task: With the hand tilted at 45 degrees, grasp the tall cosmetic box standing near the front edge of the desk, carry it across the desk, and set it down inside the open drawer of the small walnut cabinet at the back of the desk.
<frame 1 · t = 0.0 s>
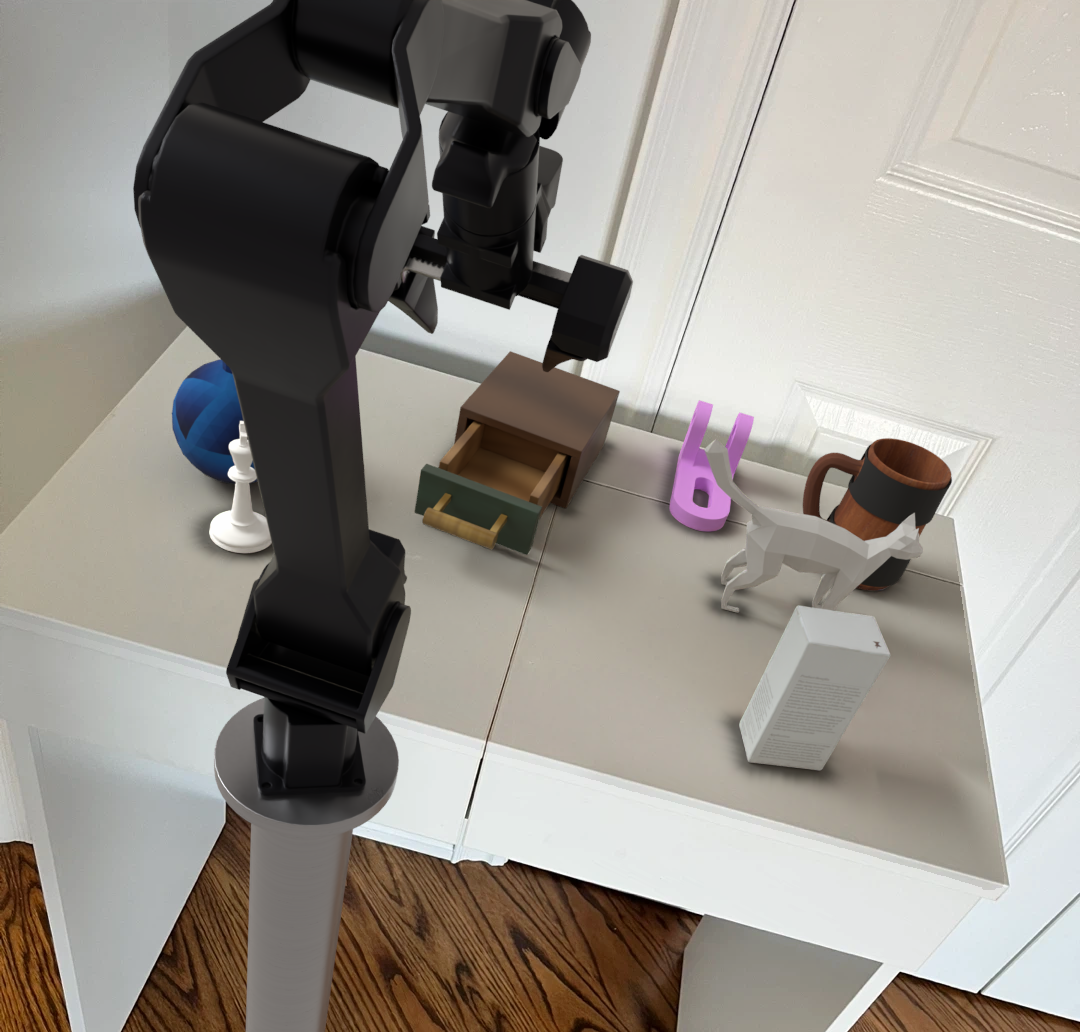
hand: (490, 347, 77), 16 cm above the table, tool tilted 35°, fingers open, 9 cm apart
cosmetic box: (776, 749, 77), on the table
bracket: (699, 496, 100), on the table
chess piece: (241, 536, 81), on the table
drawer: (491, 490, 87), point 3 cm above the table, slide at 9.0 cm
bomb: (237, 472, 87), on the table
cat figurine: (764, 608, 89), on the table
cabinet: (530, 455, 99), on the table
mug: (836, 561, 97), on the table
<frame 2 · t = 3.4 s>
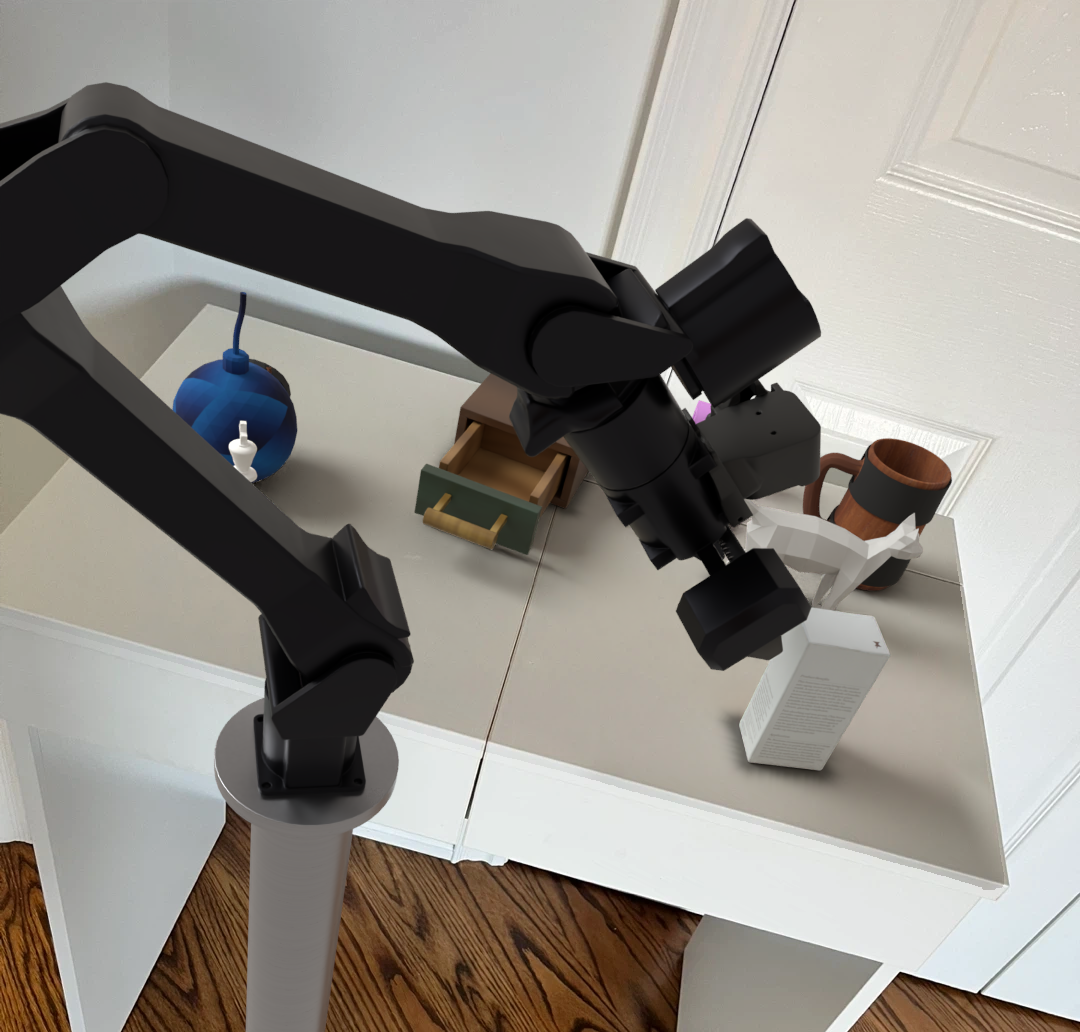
hand: (745, 605, 65), 14 cm above the table, tool tilted 45°, fingers open, 9 cm apart
nothing on the table moved.
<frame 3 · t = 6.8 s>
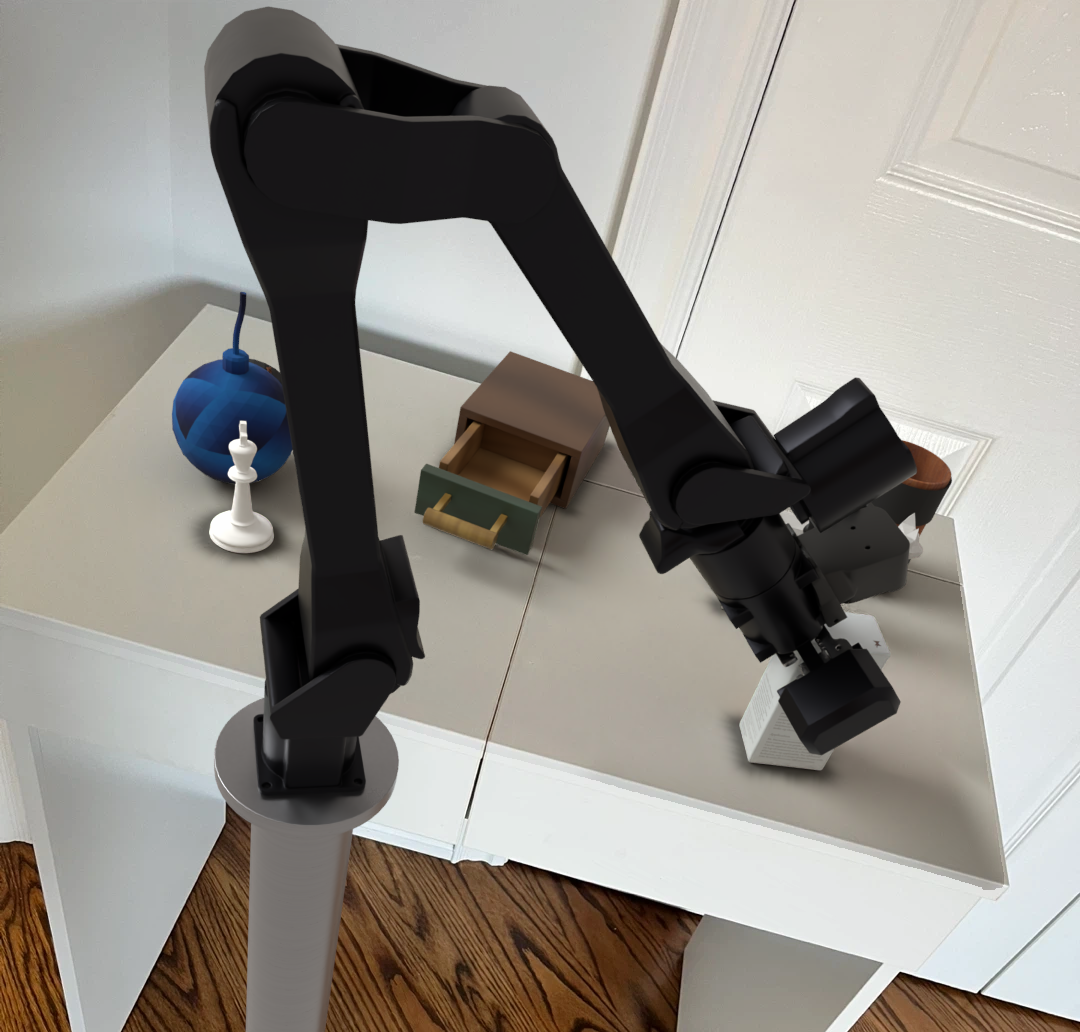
hand: (829, 685, 73), 7 cm above the table, tool tilted 45°, fingers closed on cosmetic box, 5 cm apart
cosmetic box: (777, 749, 77), on the table, touching gripper
everything else where it was.
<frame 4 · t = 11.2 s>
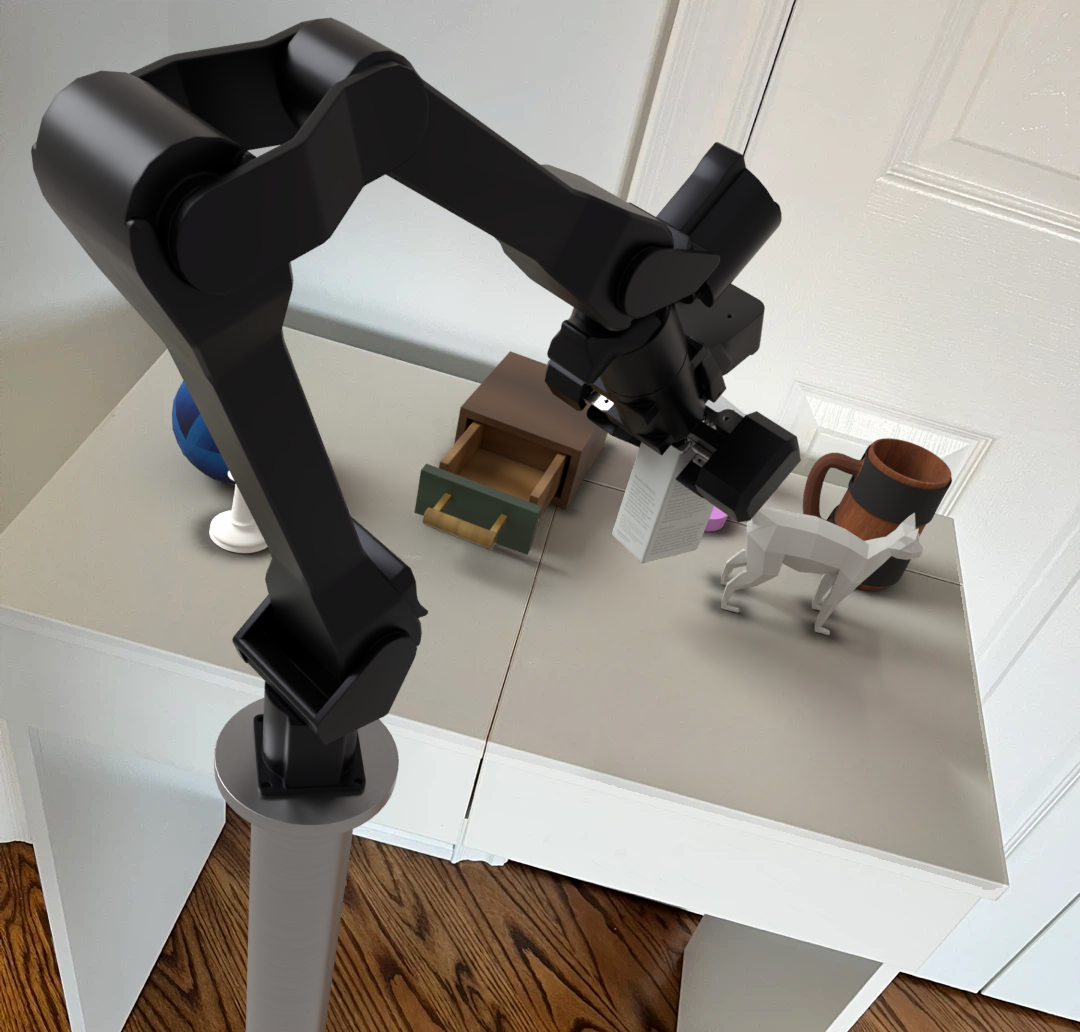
hand: (690, 467, 77), 13 cm above the table, tool tilted 45°, fingers closed on cosmetic box, 4 cm apart
cosmetic box: (652, 544, 81), point 6 cm above the table, touching gripper
everything else where it was.
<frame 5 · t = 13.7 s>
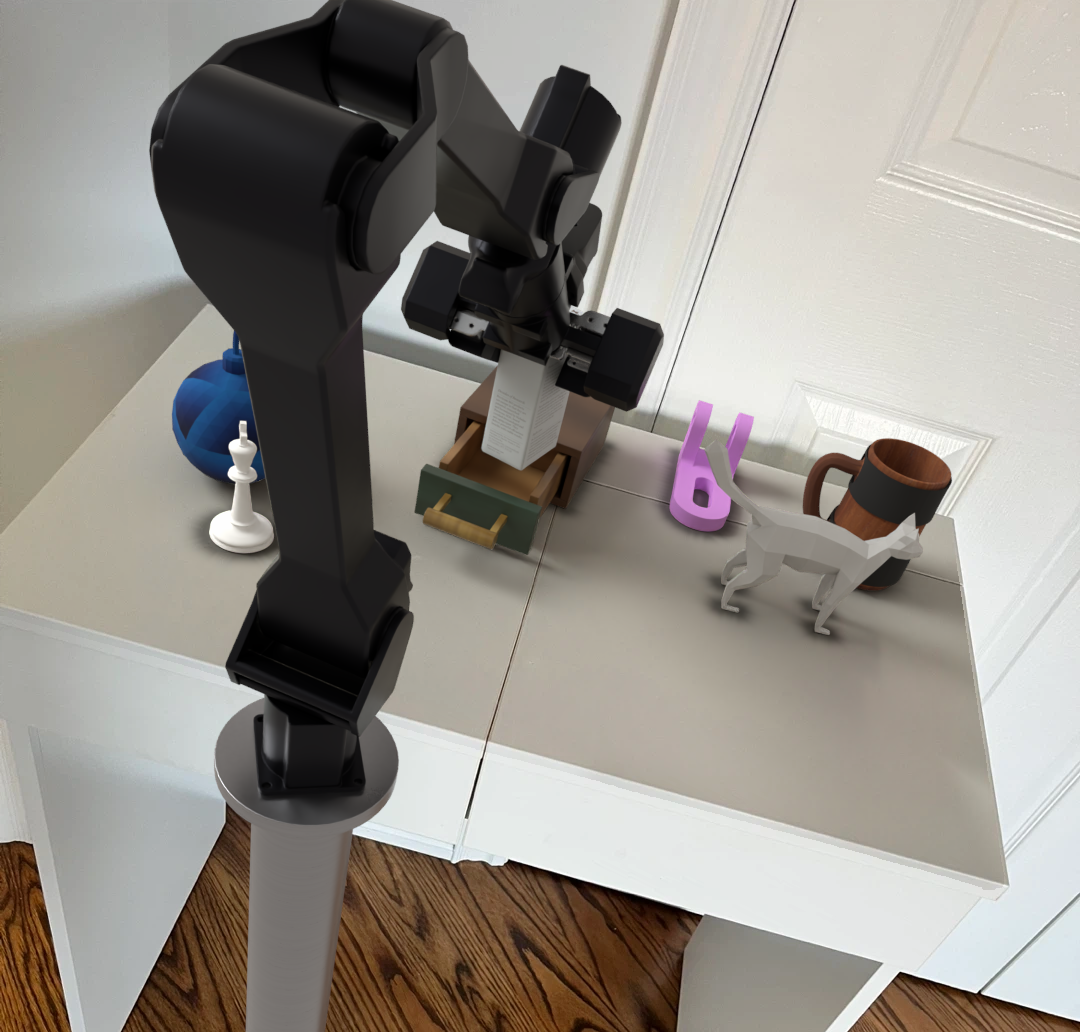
hand: (540, 371, 82), 13 cm above the table, tool tilted 45°, fingers closed on cosmetic box, 4 cm apart
cosmetic box: (517, 451, 86), point 6 cm above the table, touching gripper
everything else where it was.
when the fingers open (9 cm above the table, at t = 15.9 s): cosmetic box stays where it is, resting on drawer.
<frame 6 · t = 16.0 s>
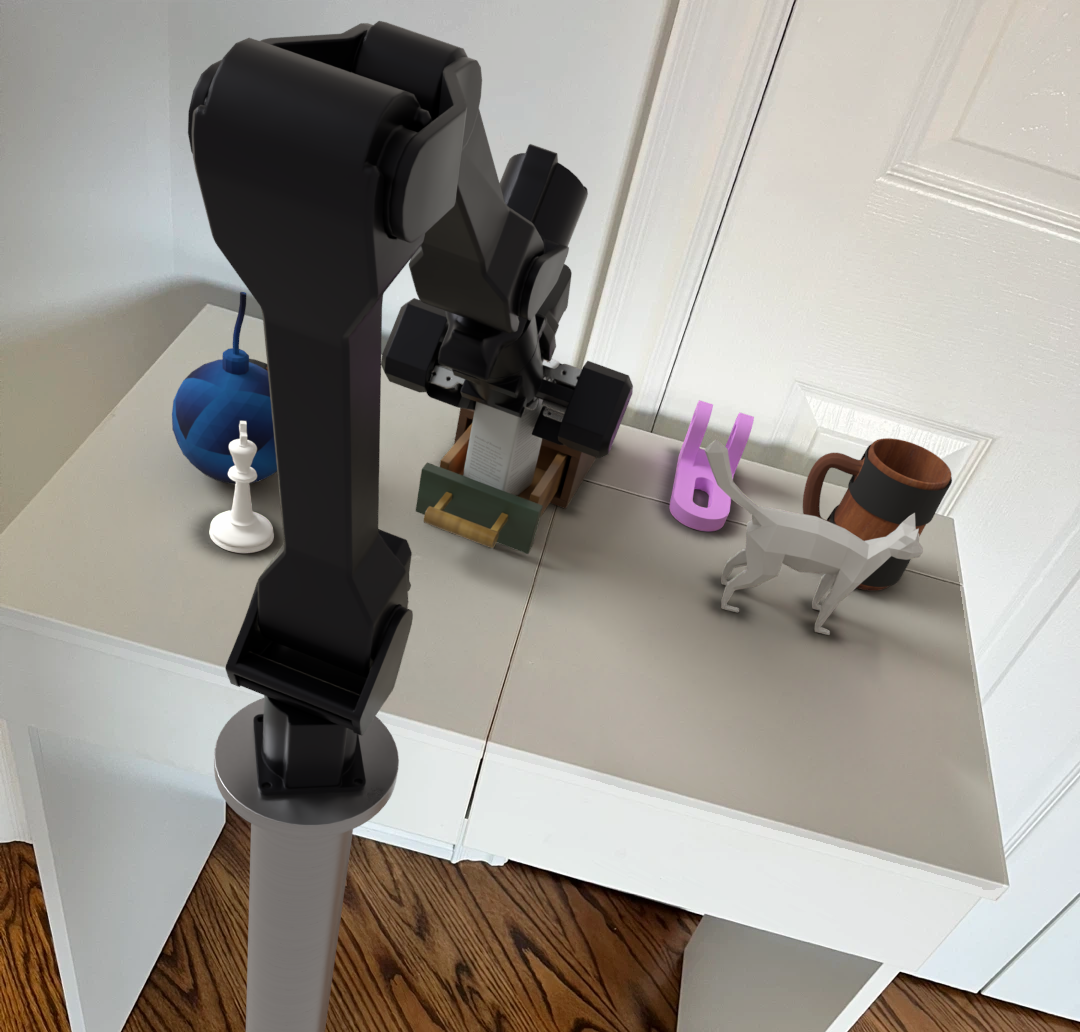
hand: (516, 415, 86), 9 cm above the table, tool tilted 45°, fingers open, 5 cm apart
cosmetic box: (495, 490, 90), point 2 cm above the table, touching drawer
drawer: (492, 489, 87), point 3 cm above the table, slide at 8.8 cm, touching cosmetic box
everything else where it was.
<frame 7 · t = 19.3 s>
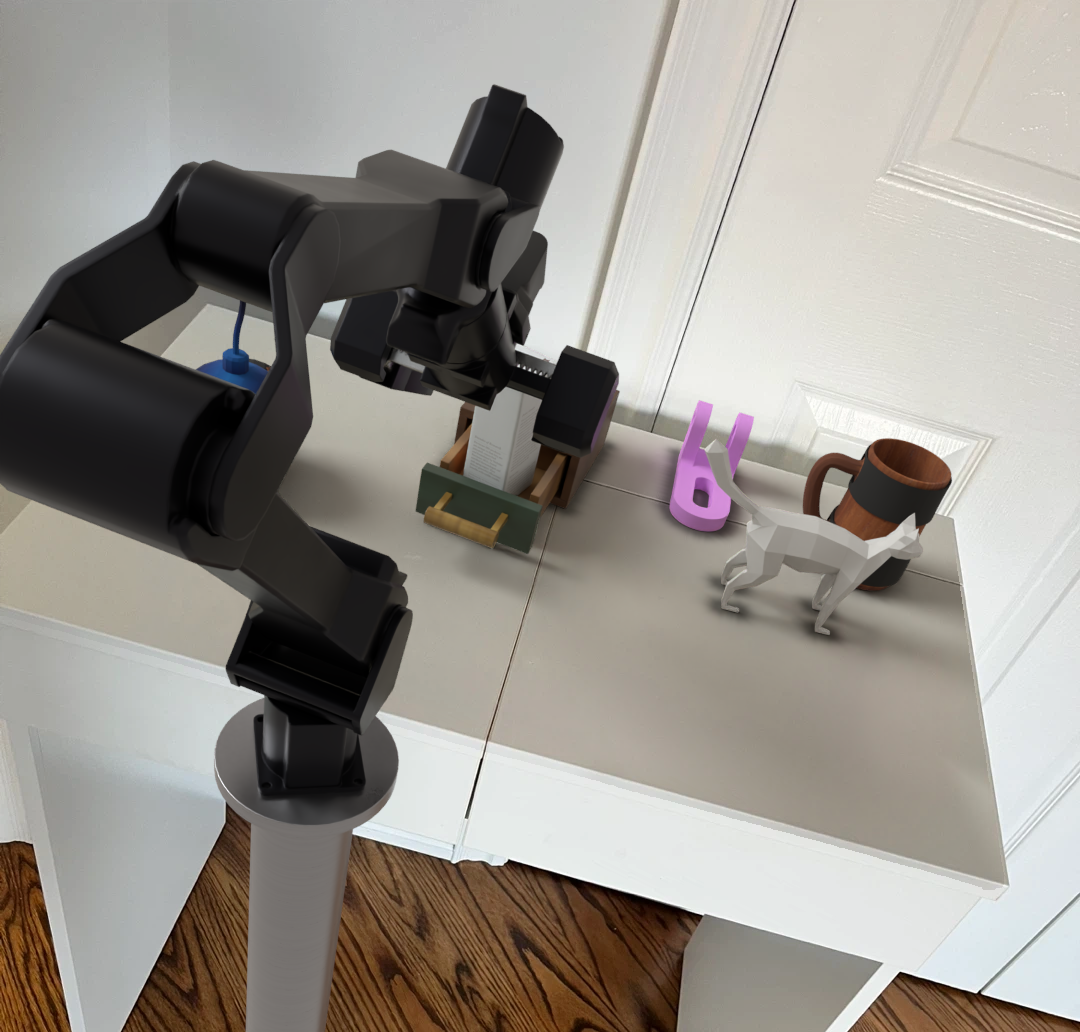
hand: (488, 409, 76), 13 cm above the table, tool tilted 45°, fingers open, 9 cm apart
nothing on the table moved.
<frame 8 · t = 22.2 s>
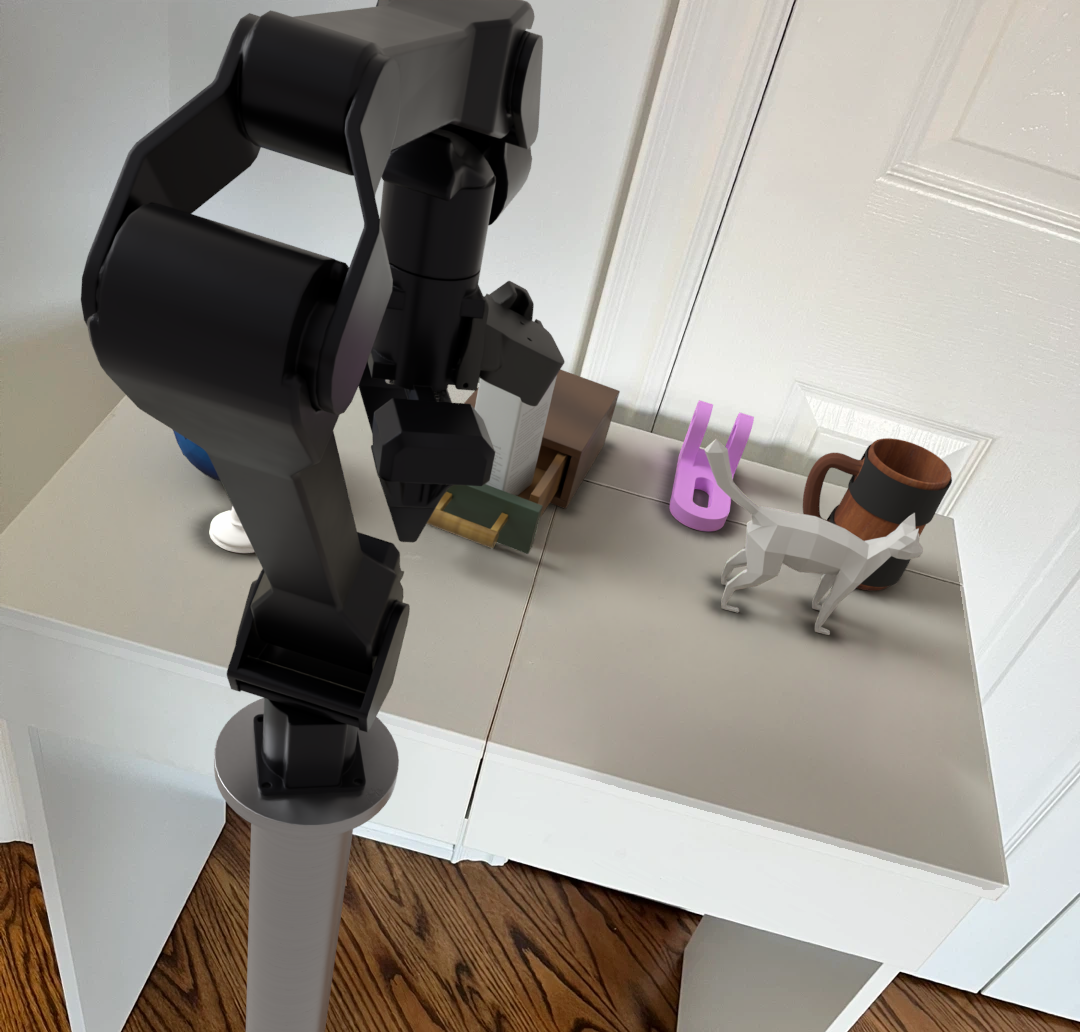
hand: (396, 497, 66), 13 cm above the table, tool pointing down, fingers open, 9 cm apart
nothing on the table moved.
at the end: cosmetic box inside the target area in the drawer (0.2 cm from its centre), point 1.8 cm above the cabinet's base; the gripper is holding nothing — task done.
